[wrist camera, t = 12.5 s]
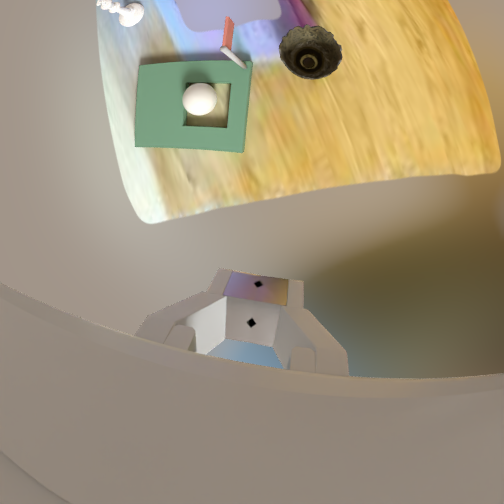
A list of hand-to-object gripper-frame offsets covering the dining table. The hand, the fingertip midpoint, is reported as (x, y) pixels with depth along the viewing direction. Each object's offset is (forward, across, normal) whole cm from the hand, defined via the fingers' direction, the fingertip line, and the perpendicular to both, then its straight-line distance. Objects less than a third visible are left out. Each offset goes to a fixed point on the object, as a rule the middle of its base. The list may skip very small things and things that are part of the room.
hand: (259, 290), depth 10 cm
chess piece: (+34, +29, -25) cm, 51 cm away
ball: (+32, +14, -8) cm, 35 cm away
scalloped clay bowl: (+34, -1, -15) cm, 37 cm away
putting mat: (+34, +16, -9) cm, 39 cm away
